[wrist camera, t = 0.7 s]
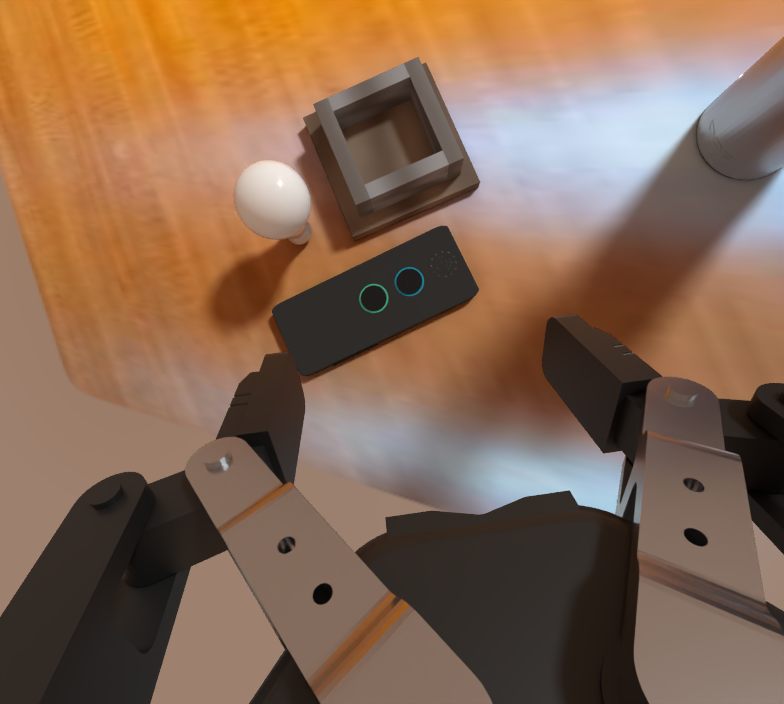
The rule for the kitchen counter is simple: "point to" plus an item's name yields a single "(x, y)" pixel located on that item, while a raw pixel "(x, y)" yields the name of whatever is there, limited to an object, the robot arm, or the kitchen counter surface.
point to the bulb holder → (390, 148)
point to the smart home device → (375, 301)
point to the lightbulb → (273, 201)
